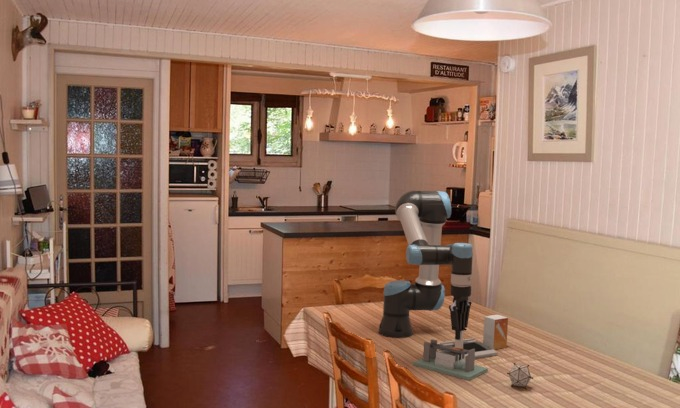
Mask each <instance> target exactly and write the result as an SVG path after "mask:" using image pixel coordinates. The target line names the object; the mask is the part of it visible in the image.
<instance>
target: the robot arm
mask: <svg viewBox="0 0 680 408" xmlns="http://www.w3.org/2000/svg"><path fill="white" fill-rule="evenodd" d="M394 209H395V210H394V212H395V216H396V218H397V220H398V221H400V224H401V226H402V229H403V233H404V235H405V238H406V241H407V246H406V251H405V258H406V262H407V264H409V265H414V266H415V265H416V266H419V269H418V276H417V277H416V278H415V280H414V283H411V281H409V280H406V279H405V280H402V279H399V280H398V279H397V280H392V281H389V282H387V283H385V285H384V286H383V287H384V288H383V304H382V305H383V311H382V317H381V321H380V323H379V326H378V334H379V335H381V336H385V337H390V338H399V339H400V338H408V337H411V336H412V335H413V331H414V329H413V327H412V326H413V325H412V322H411V319H410V311H429V312H431V311H439V310H441V309H442V307H443V304H444V302H445V296H446V292H445V291H446V289H445V286H444V285H443V284H442V281H441V280H440V278H439V273H440V272H439V271H440V270H439V269H440V266H451V270H450V272H451V274H450V284H451V285H450V296H452V297H453V299H452V304H451V305H449V306H448V310H449V313H450V325H451V330H452V331H454V332H455V333H454V334H455V335H454V341H455V347H456V348H460V349H462V348H463V339H464V338H465V335H464V332H465V331H467V328H468V323H469V318H470V313H471V312H470V311H471V306H472V301H471V300H470V301H469V297H471V295H472V286H471V285H472V280H473V278H472V275H473V255H474V252H473V245H472V244H471V243H466V242H455V243H451V244H447V245H442V244H441V242H442V233H443V232H442V231H443V226H444V225H445V224H446V223H447V219H449V218H451V215H452V203H451V199H450V195H449V194H448V193H447V192H446V191H442V190H441V191H439V190H411V191H407V192H405V193H403V194H402V195H401V196H400V197H399V198H398V200H397V201H396V203H395V207H394Z"/></svg>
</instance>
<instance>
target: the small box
mask: <svg viewBox="0 0 680 408" xmlns="http://www.w3.org/2000/svg"><path fill="white" fill-rule="evenodd" d="M508 325H509V317H507V316H504V315H500V314H492V315H491V314H490V315H486V316H484V317H483V335H482V336H483V337H482V343H483V344H485V345H486V346H488V347H489V348H491V349H492V350H493V349H494V350H495V351H496V350H500V349H506V348H507V346H508V345H507V342H508V341H507V340H508V327H509V326H508Z"/></svg>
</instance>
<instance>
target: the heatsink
mask: <svg viewBox="0 0 680 408" xmlns="http://www.w3.org/2000/svg"><path fill="white" fill-rule="evenodd" d="M464 365H465V354H460V353H455V352H450V351H445V350H440V349H439V351H438V350H437V351H436V358H435V366H439V367H442V368H446V369H450V370H455V369H458V368H460V367H462V366H464Z"/></svg>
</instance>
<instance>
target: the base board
mask: <svg viewBox="0 0 680 408" xmlns="http://www.w3.org/2000/svg"><path fill="white" fill-rule="evenodd" d="M431 343H435V344H438V339H437V340H436V339H433V338H432V339H430V342H428V341H424V342H423V356H422V357H423V358H421V359H418V360H415V361H413V363H412V365H413V366H414V367H419V368H423V369H426V370H429V371H432V372H437V373H440V374H444V375H448V376H452V377H454V378H459V379H463V380H466V381H471V380H473V379H475V378H477V377H479V376H481V375H483V374H485V373H487V372H488V371H489V368H488V367H484V366H481V365H477V364H475V360H476V359H475V349H471V350H469V351H468V355H467V356H466V357H465V365H464V366H462V367H460V368H458V369H455V370H450V369H446V368H442V367H439V366H435V358H436V351H438V349H435V348H430V347H431Z"/></svg>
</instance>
